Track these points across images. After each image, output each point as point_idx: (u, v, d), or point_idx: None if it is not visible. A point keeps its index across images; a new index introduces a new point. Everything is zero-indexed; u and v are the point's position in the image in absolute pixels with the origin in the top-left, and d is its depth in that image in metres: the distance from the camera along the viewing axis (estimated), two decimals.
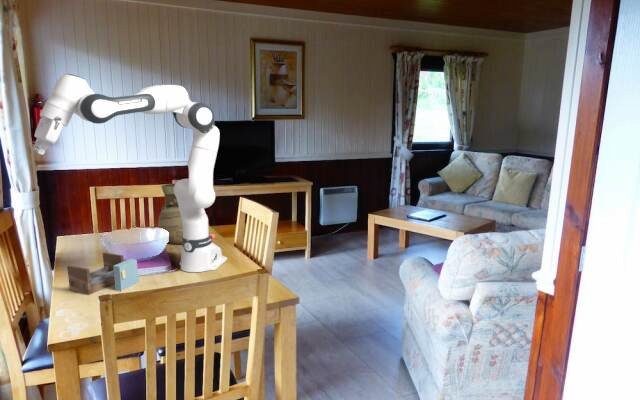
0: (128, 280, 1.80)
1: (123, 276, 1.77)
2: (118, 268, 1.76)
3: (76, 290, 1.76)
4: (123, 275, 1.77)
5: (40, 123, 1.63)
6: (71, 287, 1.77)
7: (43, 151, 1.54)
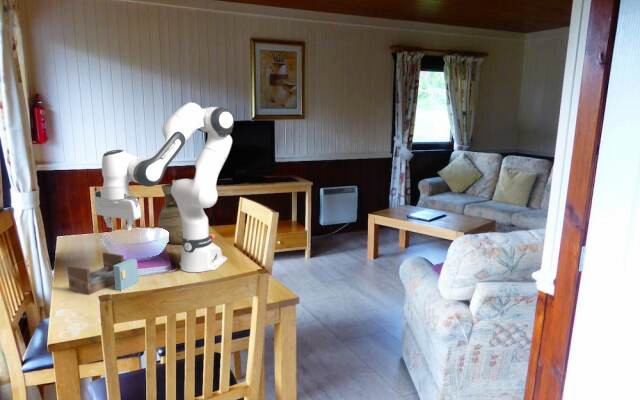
0: (128, 280, 1.80)
1: (123, 276, 1.77)
2: (118, 268, 1.76)
3: (76, 290, 1.76)
4: (123, 275, 1.77)
5: (98, 202, 1.75)
6: (71, 287, 1.77)
7: (130, 226, 1.74)
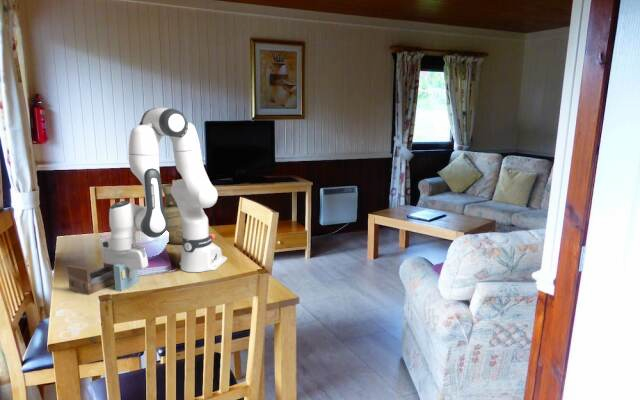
0: (128, 280, 1.80)
1: (123, 276, 1.77)
2: (118, 268, 1.76)
3: (76, 290, 1.76)
4: (123, 275, 1.77)
5: (105, 251, 1.80)
6: (71, 287, 1.77)
7: (132, 274, 1.80)
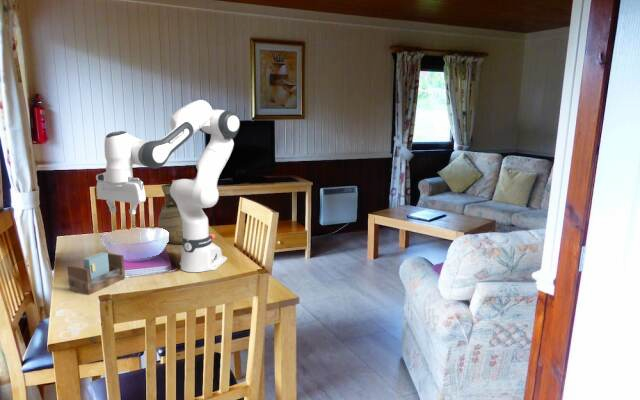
0: (99, 273, 1.82)
1: (93, 269, 1.78)
2: (88, 261, 1.77)
3: (76, 290, 1.76)
4: (93, 268, 1.78)
5: (100, 186, 1.70)
6: (71, 287, 1.77)
7: (134, 210, 1.69)
